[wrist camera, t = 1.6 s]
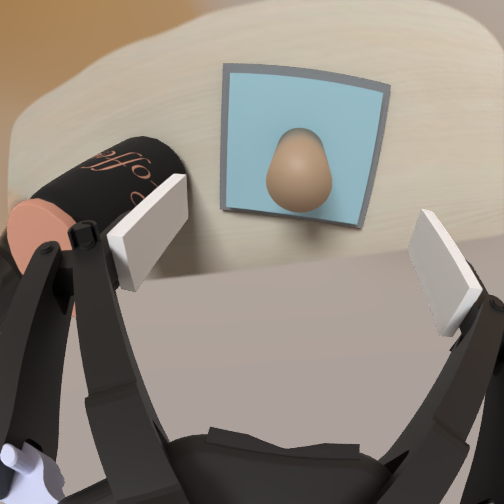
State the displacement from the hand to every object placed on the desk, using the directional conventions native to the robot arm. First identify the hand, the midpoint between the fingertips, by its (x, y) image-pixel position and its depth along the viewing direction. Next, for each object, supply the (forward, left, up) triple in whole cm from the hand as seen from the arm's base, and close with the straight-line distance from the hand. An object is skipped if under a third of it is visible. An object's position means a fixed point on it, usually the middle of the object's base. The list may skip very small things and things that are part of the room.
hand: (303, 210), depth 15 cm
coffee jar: (-17, -5, -16) cm, 24 cm away
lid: (0, 0, -14) cm, 14 cm away
